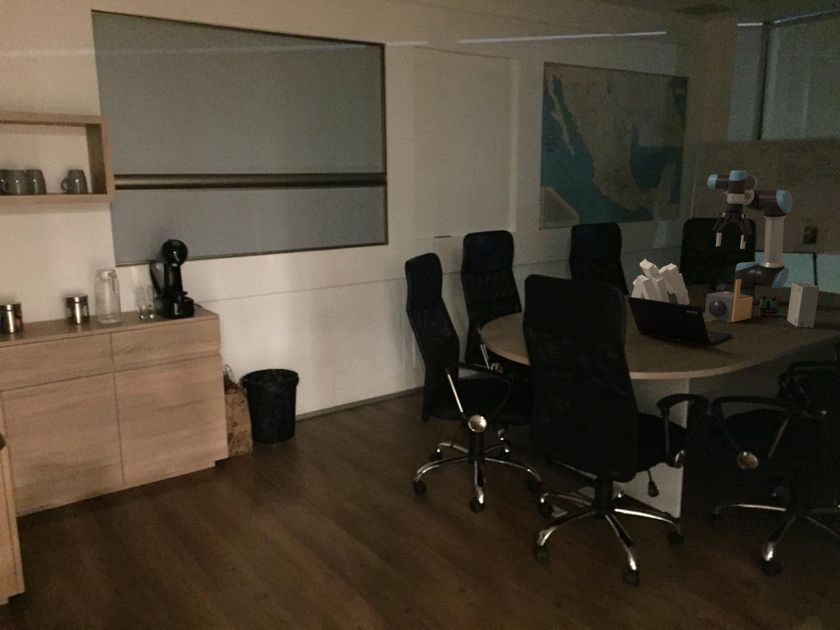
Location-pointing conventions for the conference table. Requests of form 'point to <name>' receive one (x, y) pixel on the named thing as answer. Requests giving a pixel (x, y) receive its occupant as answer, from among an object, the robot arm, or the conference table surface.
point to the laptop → (673, 321)
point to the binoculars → (768, 307)
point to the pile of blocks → (660, 283)
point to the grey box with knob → (721, 305)
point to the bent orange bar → (741, 305)
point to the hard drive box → (803, 304)
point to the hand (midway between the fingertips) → (730, 247)
